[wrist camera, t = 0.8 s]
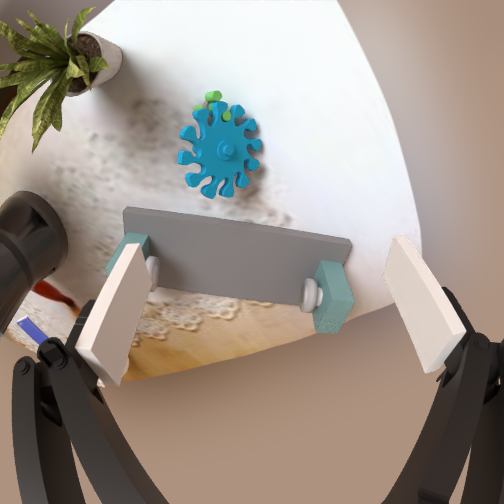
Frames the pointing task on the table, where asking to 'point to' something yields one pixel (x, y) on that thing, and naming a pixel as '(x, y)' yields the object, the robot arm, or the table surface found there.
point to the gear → (219, 146)
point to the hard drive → (33, 329)
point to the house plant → (56, 68)
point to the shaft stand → (243, 261)
